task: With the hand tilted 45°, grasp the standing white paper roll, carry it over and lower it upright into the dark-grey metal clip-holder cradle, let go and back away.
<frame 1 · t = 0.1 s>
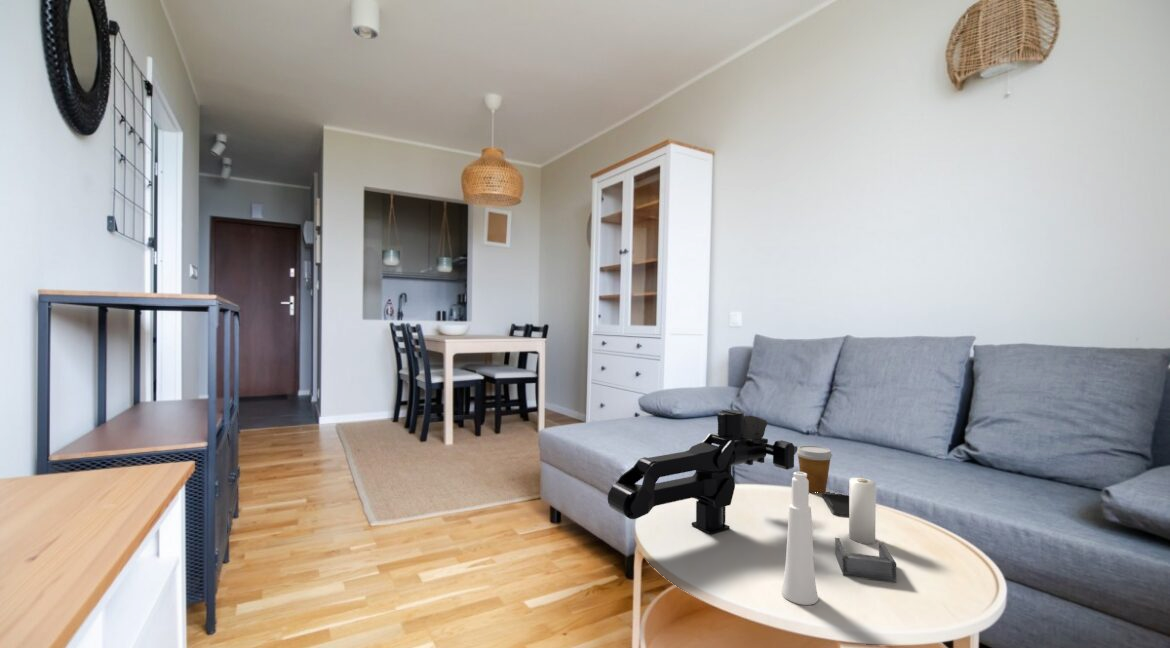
hand: (781, 444, 133), 17 cm above the table, tool horizontal, fingers open, 9 cm apart
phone: (842, 508, 134), on the table
cosmetic bottle: (799, 597, 90), on the table
paper roll: (862, 538, 114), on the table
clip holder: (863, 567, 101), on the table
disposable coffee cup: (813, 490, 147), on the table
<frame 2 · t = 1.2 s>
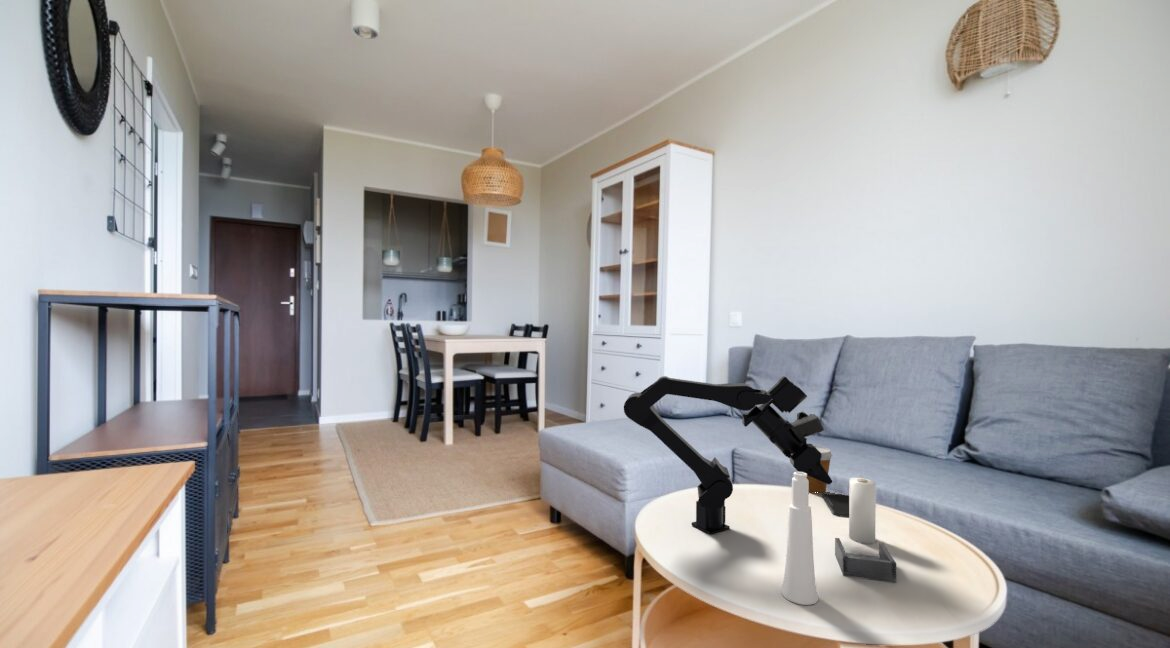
hand: (824, 476, 116), 14 cm above the table, tool tilted 45°, fingers open, 9 cm apart
nothing on the table moved.
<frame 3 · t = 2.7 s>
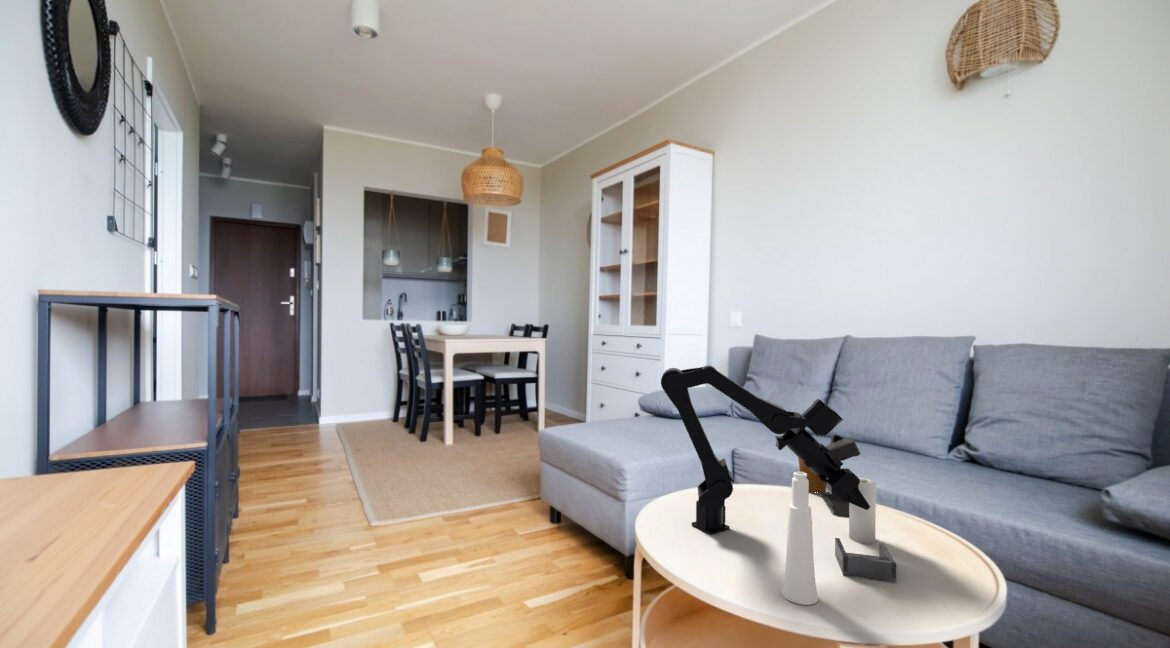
hand: (860, 500, 114), 9 cm above the table, tool tilted 45°, fingers open, 9 cm apart
nothing on the table moved.
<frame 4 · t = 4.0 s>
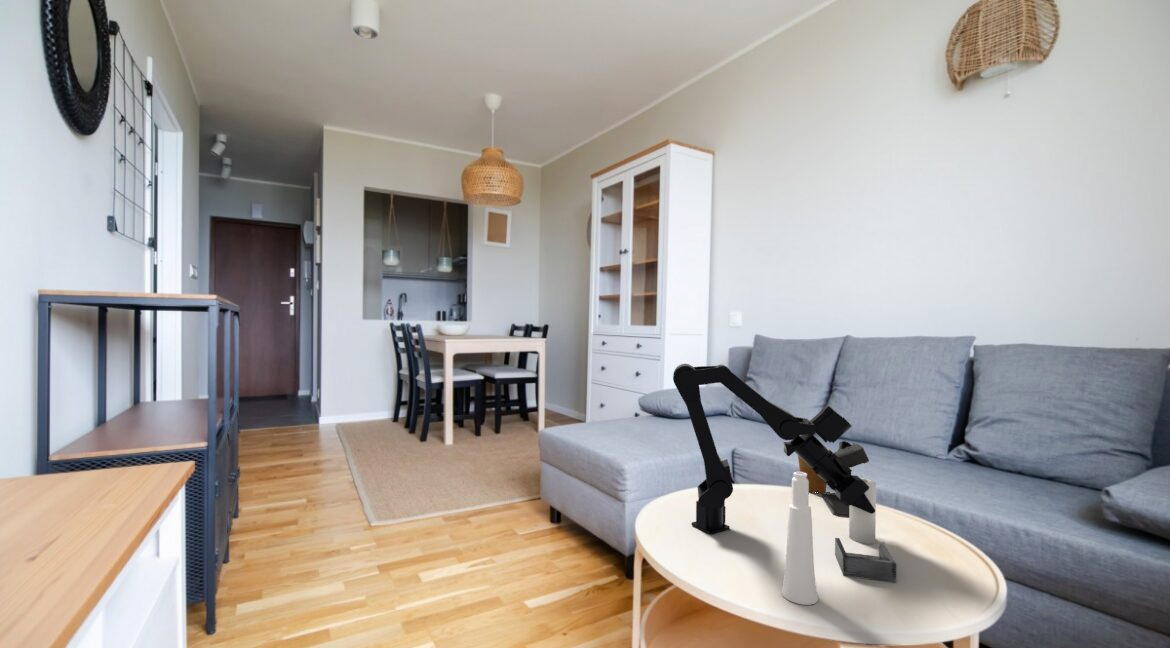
hand: (869, 507, 114), 7 cm above the table, tool tilted 45°, fingers closed on paper roll, 5 cm apart
paper roll: (862, 538, 114), on the table, touching gripper
everything else where it was.
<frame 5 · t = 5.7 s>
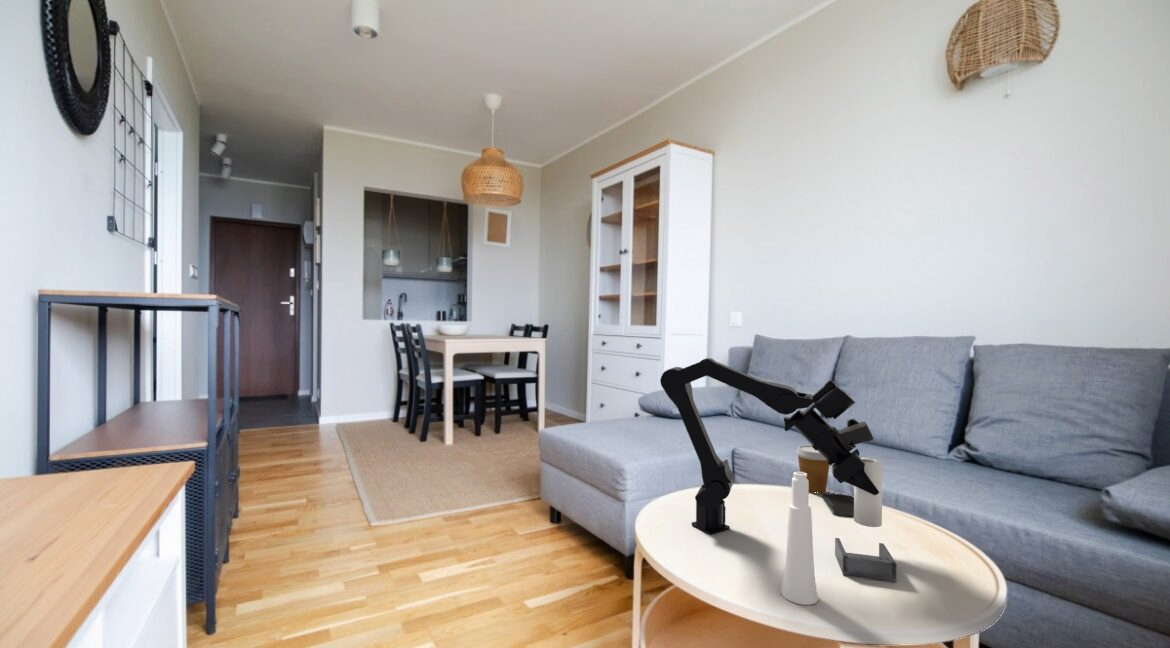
hand: (875, 489, 107), 13 cm above the table, tool tilted 45°, fingers closed on paper roll, 5 cm apart
paper roll: (867, 522, 108), point 6 cm above the table, touching gripper
everything else where it was.
when the fingers open (9 cm above the table, at t = 7.9 s): paper roll drops 1 cm, resting on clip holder.
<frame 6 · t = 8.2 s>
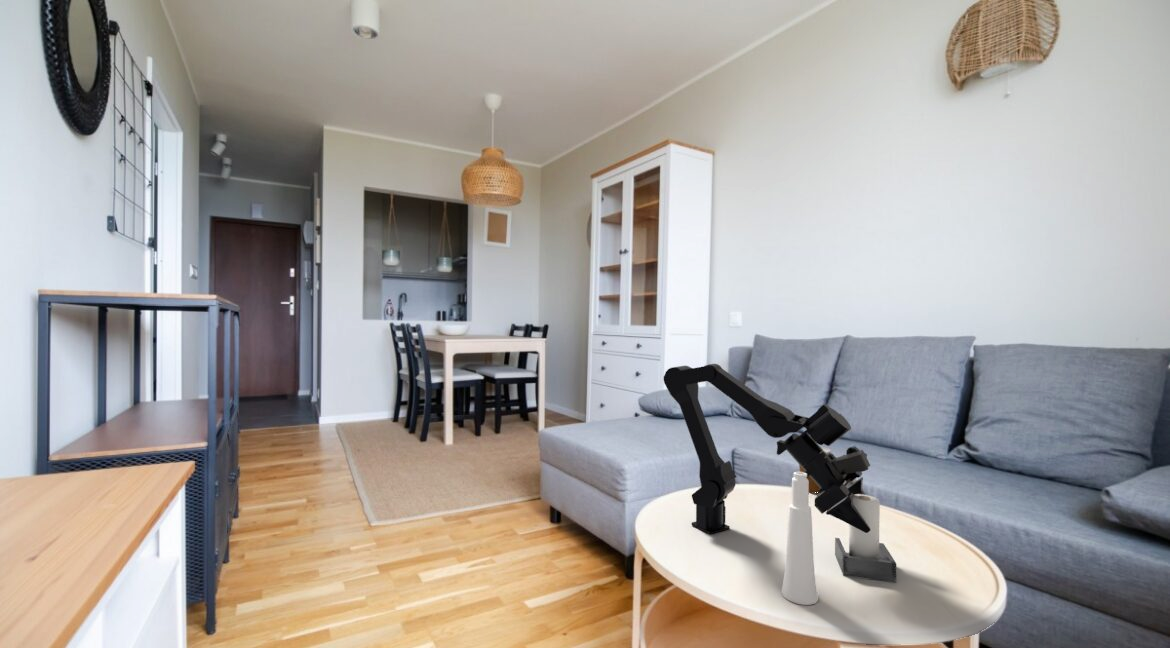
hand: (872, 524, 100), 9 cm above the table, tool tilted 45°, fingers open, 8 cm apart
paper roll: (863, 563, 101), point 1 cm above the table, touching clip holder
everything else where it was.
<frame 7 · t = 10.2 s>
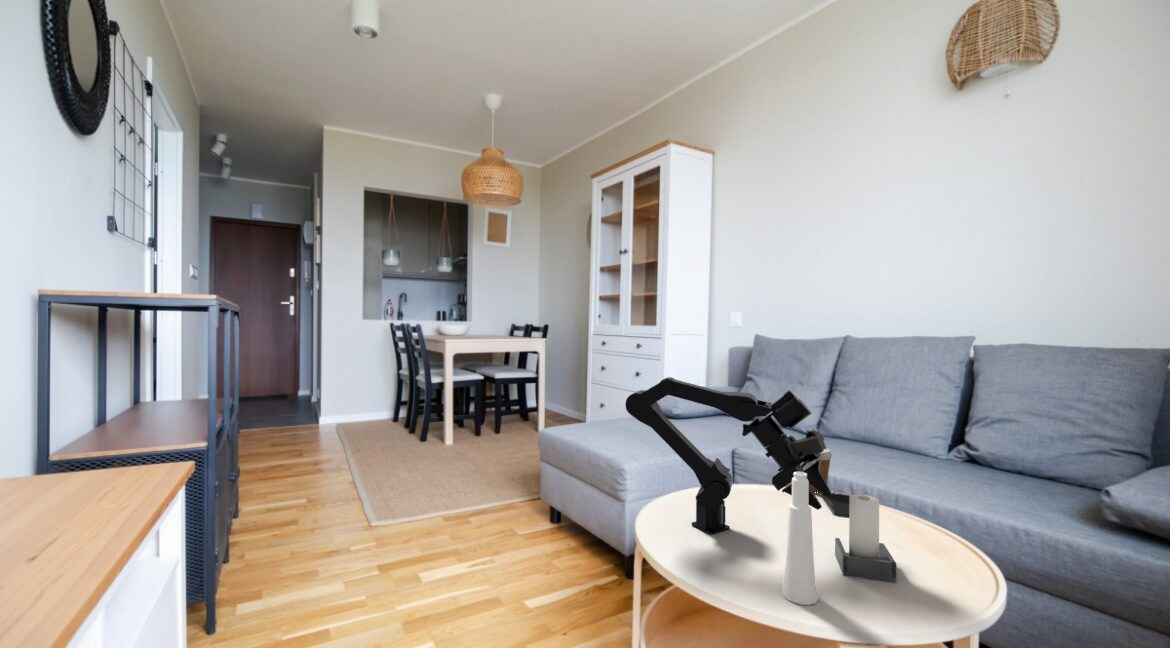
hand: (825, 501, 108), 10 cm above the table, tool tilted 40°, fingers open, 9 cm apart
nothing on the table moved.
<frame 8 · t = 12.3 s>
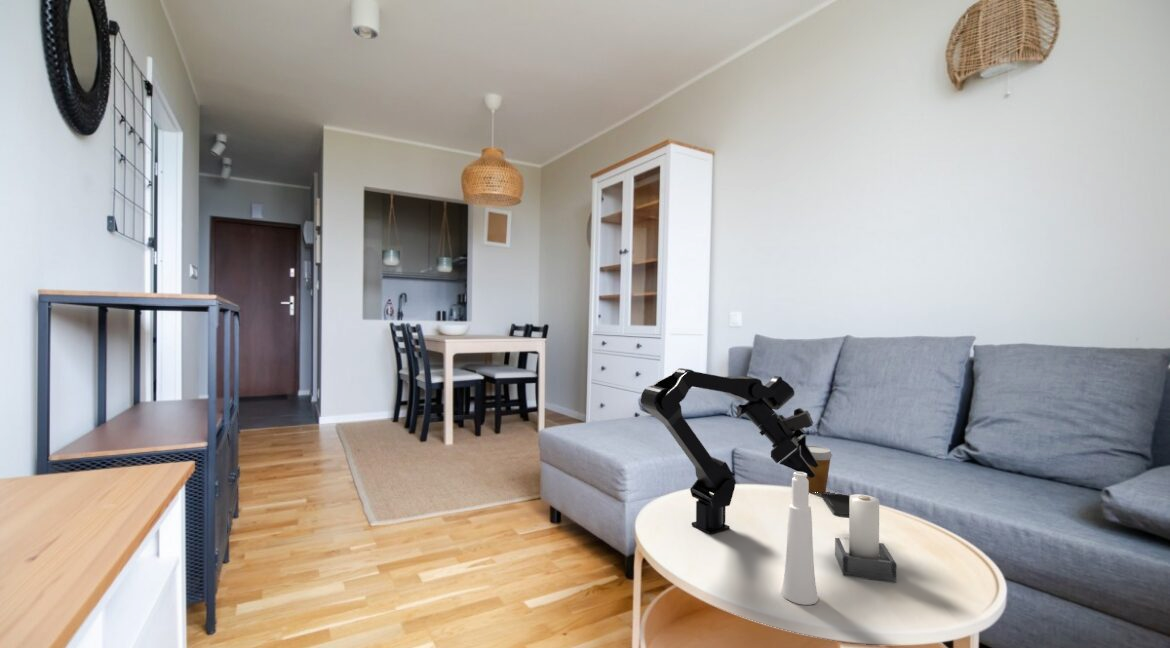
hand: (815, 471, 119), 14 cm above the table, tool tilted 45°, fingers open, 9 cm apart
nothing on the table moved.
at the end: paper roll 0.0 cm off-centre on the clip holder, point 0.8 cm above the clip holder's base; paper roll tilted 0°; the gripper is holding nothing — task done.
